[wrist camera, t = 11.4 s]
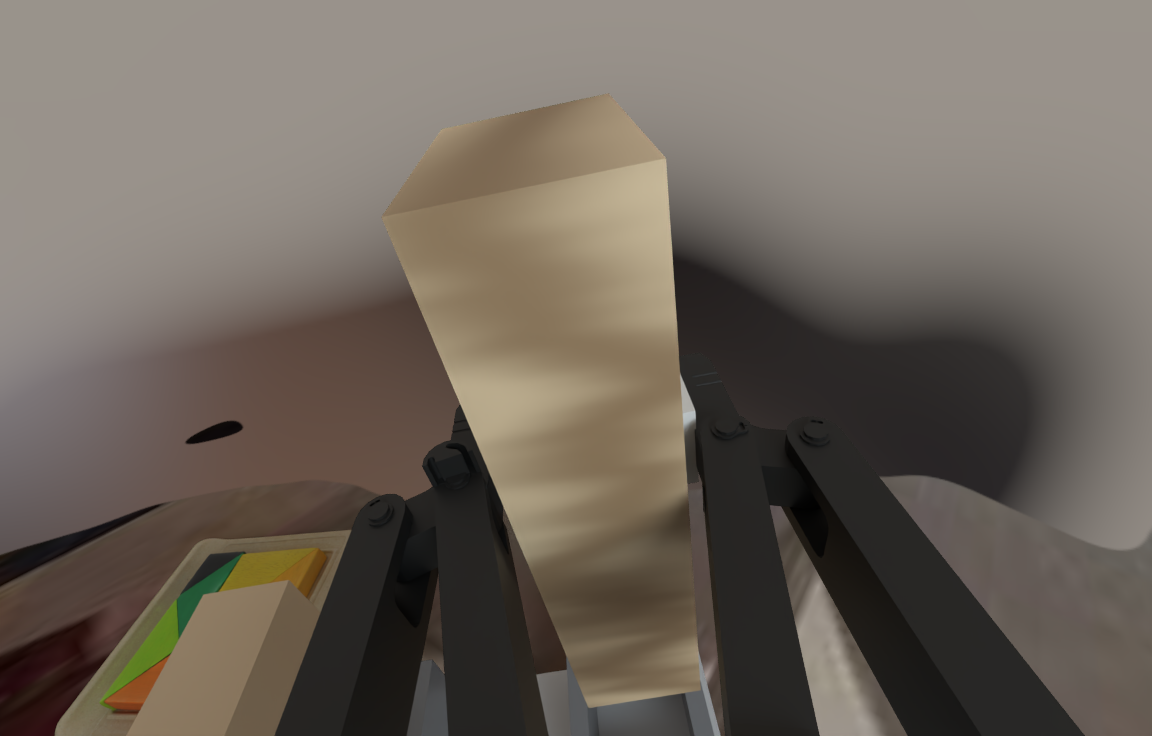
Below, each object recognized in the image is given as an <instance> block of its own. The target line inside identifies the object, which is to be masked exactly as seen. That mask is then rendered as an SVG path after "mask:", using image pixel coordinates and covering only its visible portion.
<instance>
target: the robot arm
mask: <svg viewBox="0 0 1152 736" xmlns="http://www.w3.org/2000/svg"><path fill="white" fill-rule="evenodd" d="M679 365H680V381H681V396H682V411H683V427H684V442H685V457H686V472H687V484H690V483H695V482H699V479H698V472H699V475H700V478H701V480H702V487H703V512H704V513H705V524H706V534H707V545H708V556H709V567H710V577H711V588H712V599H713V609H714V620H715V631H716V642H717V652H718V663H719V674H720V684H721V695H722V706H723V717H724V727H725V736H820V735H819V731H818V726H817V722H816V717H815V713H814V708H813V703H812V699H811V694H810V690H809V685H808V680H807V676H806V671H805V667H804V662H803V657H802V653H801V648H800V644H799V639H798V634H797V630H796V625H795V621H794V616H793V611H792V607H791V602H790V597H789V593H788V588H787V584H786V579H785V574H784V570H783V565H782V561H781V556H780V551H779V547H778V542H777V538H776V533H775V528H774V524H773V519H772V515H771V510H770V505H774V506H781V507H782V509H783V510H784V512H785V514H786V516H787V518H788V520H789V521H790V523H791V525H792V527H793V529H794V530H795V532H796V534H797V536H798V538H799V539H800V541H801V543H802V545H803V547H804V549H805V550H806V552H807V554H808V556H809V558H810V559H811V561H812V563H813V565H814V567H815V568H816V570H817V572H818V574H819V576H820V578H821V579H822V581H823V583H824V585H825V587H826V588H827V590H828V592H829V594H830V596H831V598H832V599H833V601H834V603H835V605H836V607H837V608H838V610H839V612H840V614H841V616H842V617H843V619H844V621H845V623H846V625H847V627H848V628H849V630H850V632H851V634H852V636H853V637H854V639H855V641H856V643H857V645H858V646H859V648H860V650H861V652H862V654H863V656H864V657H865V659H866V661H867V663H868V665H869V666H870V668H871V670H872V672H873V674H874V675H875V677H876V679H877V681H878V683H879V685H880V686H881V688H882V690H883V692H884V694H885V695H886V697H887V699H888V701H889V703H890V704H891V706H892V708H893V710H894V712H895V714H896V715H897V717H898V719H899V721H900V723H901V724H902V726H903V728H904V730H905V732H906V733H907V735H908V736H1085V735H1084V734H1083V733H1082V732H1081V730H1080V729H1079V728H1078V727H1077V725H1076V724H1075V723H1074V722H1073V720H1072V719H1071V718H1070V717H1069V715H1068V714H1067V713H1066V712H1065V710H1064V709H1063V708H1062V706H1061V705H1060V704H1059V703H1058V701H1057V700H1056V699H1055V698H1054V696H1053V695H1052V694H1051V693H1050V691H1049V690H1048V689H1047V688H1046V686H1045V685H1044V684H1043V683H1042V681H1041V680H1040V679H1039V678H1038V676H1037V675H1036V674H1035V673H1034V671H1033V670H1032V669H1031V667H1030V666H1029V665H1028V664H1027V662H1026V661H1025V660H1024V659H1023V657H1022V656H1021V655H1020V654H1019V652H1018V651H1017V650H1016V649H1015V647H1014V646H1013V645H1012V644H1011V642H1010V641H1009V640H1008V639H1007V637H1006V636H1005V635H1004V634H1003V632H1002V631H1001V630H1000V628H999V627H998V626H997V625H996V623H995V622H994V621H993V620H992V618H991V617H990V616H989V615H988V613H987V612H986V611H985V610H984V608H983V607H982V606H981V605H980V603H979V602H978V601H977V600H976V598H975V597H974V596H973V595H972V593H971V592H970V591H969V589H968V588H967V587H966V586H965V584H964V583H963V582H962V581H961V579H960V578H959V577H958V576H957V574H956V573H955V572H954V571H953V569H952V568H951V567H950V566H949V564H948V563H947V562H946V561H945V559H944V558H943V557H942V555H941V554H940V553H939V552H938V550H937V549H936V548H935V547H934V545H933V544H932V543H931V542H930V540H929V539H928V538H927V537H926V535H925V534H924V533H923V532H922V530H921V529H920V528H919V527H918V525H917V524H916V523H915V522H914V520H913V519H912V518H911V516H910V515H909V514H908V513H907V511H906V510H905V509H904V508H903V506H902V505H901V504H900V503H899V501H898V500H897V499H896V498H895V496H894V495H893V494H892V493H891V491H890V490H889V489H888V488H887V486H886V485H885V484H884V483H883V481H882V480H881V479H880V477H879V476H878V475H877V474H876V472H875V471H874V470H873V469H872V468H871V466H870V465H869V464H868V462H867V461H866V460H865V459H864V457H863V456H862V455H861V454H860V452H859V451H858V450H857V449H856V447H855V446H854V445H853V444H852V442H851V441H850V440H849V439H848V437H847V436H846V435H845V433H844V432H843V431H842V430H841V429H840V428H839V427H838V426H837V425H836V424H834V423H833V422H831V421H828V420H826V419H823V418H818V417H802V418H799V419H796V420H794V421H793V422H792V423H790V424H789V425H788V428H787V430H774V429H765V428H759V427H756V426H753V425H751V424H750V422H749V421H747V420H746V419H745V418H744V417H742V416H739V414H738V413H737V411H736V409H735V407H734V405H733V403H732V401H731V399H730V397H729V395H728V393H727V391H726V389H725V387H724V385H723V383H722V382H721V380H720V378H719V376H718V374H717V372H716V370H715V368H714V366H713V364H712V362H711V360H709V359H708V358H706V357H705V356H704V355H702V354H701V353H695V354H690V355H684V356H679ZM452 432H453V434H452V437H451V440H450V441H446V442H443V443H441V444H439V445H437V446H435V447H434V448H433V449H432V450H431V451H429V453H428V454H427V455H426V457H425V458H424V461H423V465H422V467H423V469H424V471H425V472H426V475H427V476H428V478H429V480H430V482H431V484H432V486H433V487H431V488H430V489H429V490H427V491H426V492H423V493H421V494H419V495H417V496H415V497H413V498H410V499H408V500H406V501H404V500H403V498H402V497H401V496H398V495H396V494H385V495H382V496H379V497H377V498H375V499H373V500H371V501H370V502H368V503H367V504H366V505H365V506H364V507H363V508H362V509H361V510H360V512H359V514H358V515H357V517H356V519H355V522H354V525H353V527H352V530H351V533H350V535H349V538H348V541H347V543H346V546H345V549H344V551H343V554H342V557H341V559H340V562H339V565H338V567H337V570H336V573H335V575H334V578H333V581H332V583H331V586H330V589H329V591H328V594H327V597H326V599H325V602H324V605H323V607H322V610H321V613H320V615H319V618H318V621H317V623H316V626H315V629H314V631H313V634H312V637H311V639H310V642H309V645H308V647H307V650H306V653H305V655H304V658H303V661H302V663H301V666H300V669H299V671H298V674H297V677H296V679H295V682H294V685H293V687H292V690H291V693H290V695H289V698H288V701H287V703H286V706H285V708H284V711H283V714H282V716H281V719H280V722H279V724H278V727H277V730H276V732H275V735H274V736H407V731H408V726H409V721H410V716H411V711H412V706H413V701H414V696H415V691H416V685H417V680H418V675H419V670H420V665H421V660H422V655H423V650H424V645H425V639H426V634H427V629H428V624H429V619H430V614H431V609H432V604H433V599H434V594H435V588H436V583H437V578H438V573H439V589H440V605H441V622H442V638H443V655H444V671H445V688H446V704H447V721H448V736H549V735H548V730H547V725H546V720H545V715H544V710H543V705H542V700H541V695H540V691H539V686H538V681H537V676H536V671H535V666H534V661H533V656H532V651H531V646H530V641H529V636H528V631H527V626H526V622H525V617H524V612H523V607H522V602H521V597H520V592H519V587H518V582H517V577H516V572H515V567H514V562H513V557H512V552H511V548H510V543H509V538H508V533H507V529H506V526H505V524H504V522H503V504H502V502H501V499H500V497H499V495H498V492H497V490H496V487H495V485H494V483H493V480H492V478H491V476H490V473H489V471H488V468H487V466H486V464H485V461H484V459H483V457H482V454H481V452H480V449H479V447H478V445H477V442H476V440H475V438H474V435H473V433H472V431H471V428H470V426H469V423H468V421H467V419H466V416H465V414H464V412H463V409H462V407H461V404H460V405H459V407H458V408H457V410H456V414H455V419H454V425H453V431H452Z"/></svg>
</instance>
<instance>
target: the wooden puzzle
mask: <svg viewBox="0 0 1152 736" xmlns="http://www.w3.org/2000/svg"><path fill="white" fill-rule="evenodd" d="M350 533H351V530H342V531H331V532H319V533H307V534H295V535H283V536H270V537H257V538H244V539H230V540H229V539H218V538H210V539H205V540H202V541H200V542H199V543H197V544H196V545H195V546H194V547H193V548H192V550H191V551H190V552H189V553H188V555H187V556H186V557H185V559H184V560H183V561H182V562H181V564H180V565H179V566H178V568H177V569H176V570H175V571H174V573H173V574H172V575H171V577H170V578H169V579H168V580H167V582H166V583H165V584H164V586H163V587H162V588H161V589H160V591H159V592H158V593H157V595H156V596H155V597H154V598H153V600H152V601H151V602H150V603H149V605H148V606H147V607H146V609H145V610H144V611H143V612H142V614H141V615H140V616H139V618H138V619H137V620H136V622H135V623H134V624H133V625H132V627H131V628H130V629H129V631H128V632H127V633H126V635H125V636H124V637H123V638H122V640H121V641H120V642H119V644H118V645H117V646H116V648H115V649H114V650H113V651H112V653H111V654H110V655H109V657H108V658H107V659H106V660H105V662H104V663H103V664H102V666H101V667H100V668H99V670H98V671H97V672H96V674H95V675H94V676H93V678H92V679H91V680H90V681H89V683H88V684H87V685H86V687H85V688H84V689H83V691H82V692H81V693H80V695H79V696H78V697H77V698H76V700H75V701H74V702H73V704H72V705H71V706H70V707H69V709H68V710H67V711H66V713H65V714H64V715H63V717H62V718H61V719H60V721H59V722H58V724H57V727H56V730H55V736H126V735H127V733H128V731H129V730H130V728H131V726H132V724H133V722H134V721H135V719H136V717H137V715H138V713H139V711H140V710H141V708H142V706H143V704H144V702H145V700H146V699H147V697H148V695H149V693H150V691H151V690H152V688H153V686H154V684H155V682H156V680H157V679H158V677H159V675H160V673H161V671H162V669H163V668H164V666H165V664H166V662H167V660H168V659H169V657H170V655H171V653H172V651H173V649H174V648H175V646H176V644H177V642H178V640H179V638H180V637H181V635H182V633H183V631H184V629H185V627H186V626H187V624H188V622H189V620H190V618H191V617H192V615H193V613H194V611H195V609H196V607H197V606H198V604H199V602H200V600H201V598H202V596H203V595H204V594H210V593H216V592H221V591H227V590H233V589H239V588H245V587H250V586H256V585H262V584H268V583H274V582H280V581H285V580H290V582H291V583H292V584H293V585H294V586H295V587H296V588H297V589H298V590H299V591H300V592H301V593H302V594H303V595H304V596H305V597H306V598H307V599H308V600H309V601H310V602H311V603H312V604H313V605H314V606H315V608H316V609H317V610H318V611H319V612H320V613H321V610H322V607H323V605H324V602H325V599H326V597H327V594H328V591H329V589H330V586H331V583H332V581H333V578H334V575H335V573H336V570H337V567H338V565H339V562H340V559H341V557H342V554H343V551H344V549H345V546H346V543H347V541H348V538H349V535H350Z"/></svg>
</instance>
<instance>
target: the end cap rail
mask: <svg viewBox="0 0 1152 736" xmlns="http://www.w3.org/2000/svg"><path fill="white" fill-rule="evenodd" d="M319 615H320V612H319V611H318V610H317V609H316V608H315V606H314V605H313V604H312V603H311V602H310V601H309V600H308V599H307V598H306V597H305V596H304V595H303V594H302V593H301V592H300V591H299V590H298V589H297V588H296V587H295V586H294V585H293V584H292V583H291V582H290V580H285V581H280V582H274V583H268V584H262V585H256V586H250V587H245V588H239V589H233V590H227V591H221V592H216V593H210V594H204V595H203V596H202V598H201V600H200V602H199V604H198V606H197V607H196V609H195V611H194V613H193V615H192V617H191V618H190V620H189V622H188V624H187V626H186V627H185V629H184V631H183V633H182V635H181V637H180V638H179V640H178V642H177V644H176V646H175V648H174V649H173V651H172V653H171V655H170V657H169V659H168V660H167V662H166V664H165V666H164V668H163V669H162V671H161V673H160V675H159V677H158V679H157V680H156V682H155V684H154V686H153V688H152V690H151V691H150V693H149V695H148V697H147V699H146V700H145V702H144V704H143V706H142V708H141V710H140V711H139V713H138V715H137V717H136V719H135V721H134V722H133V724H132V726H131V728H130V730H129V731H128V733H127V735H126V736H274V735H275V732H276V730H277V727H278V724H279V722H280V719H281V716H282V714H283V711H284V708H285V706H286V703H287V701H288V698H289V695H290V693H291V690H292V687H293V685H294V682H295V679H296V677H297V674H298V671H299V669H300V666H301V663H302V661H303V658H304V655H305V653H306V650H307V647H308V645H309V642H310V639H311V637H312V634H313V631H314V629H315V626H316V623H317V621H318V618H319ZM698 656H699V652H698ZM566 661H567V670H562V671H556V672H549V673H543V674H537V675H536V676H537V681H538V686H539V691H540V695H541V700H542V705H543V710H544V715H545V720H546V725H547V730H548V735H549V736H720V732H719V729H718V725H717V721H716V717H715V713H714V709H713V706H712V702H711V698H710V694H709V690H708V686H707V683H706V679H705V675H704V671H703V667H702V664H701V660H700V656H699V671H700V686H701V690H699V691H693V692H687V693H680V694H674V695H668V696H662V697H655V698H649V699H643V700H637V701H630V702H624V703H618V704H612V705H605V706H599V707H593V708H588V706H587V703H586V701H585V698H584V696H583V694H582V691H581V689H580V687H579V684H578V682H577V679H576V677H575V675H574V672H573V670H572V668H571V665H570V663H569V660H568V658H567V656H566ZM407 736H448V721H447V704H446V688H445V675H444V674H443V672H442V671H441V670H440V669H439V667H438V666H437V665H436V663H435V662H434V661H433V660H426V661H421V665H420V670H419V675H418V680H417V685H416V691H415V696H414V701H413V706H412V711H411V716H410V721H409V726H408V731H407Z"/></svg>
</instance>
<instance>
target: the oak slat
mask: <svg viewBox="0 0 1152 736" xmlns="http://www.w3.org/2000/svg"><path fill="white" fill-rule="evenodd" d="M382 220H383V222H384V224H385V226H386V229H387V231H388V234H389V236H390V238H391V241H392V243H393V246H394V248H395V250H396V253H397V255H398V257H399V260H400V262H401V264H402V267H403V269H404V272H405V274H406V276H407V279H408V281H409V283H410V286H411V288H412V291H413V293H414V295H415V298H416V300H417V302H418V305H419V307H420V310H421V312H422V314H423V317H424V319H425V321H426V324H427V326H428V329H429V331H430V333H431V335H432V338H433V340H434V343H435V345H436V347H437V350H438V352H439V354H440V357H441V359H442V362H443V364H444V366H445V369H446V371H447V373H448V376H449V378H450V381H451V383H452V385H453V388H454V390H455V392H456V395H457V397H458V400H459V402H460V404H461V407H462V409H463V412H464V414H465V416H466V419H467V421H468V423H469V426H470V428H471V431H472V433H473V435H474V438H475V440H476V442H477V445H478V447H479V449H480V452H481V454H482V457H483V459H484V461H485V464H486V466H487V468H488V471H489V473H490V476H491V478H492V480H493V483H494V485H495V487H496V490H497V492H498V495H499V497H500V499H501V502H502V504H503V506H504V509H505V511H506V513H507V516H508V518H509V521H510V523H511V525H512V528H513V530H514V532H515V535H516V537H517V540H518V542H519V544H520V547H521V549H522V551H523V554H524V556H525V559H526V561H527V563H528V566H529V568H530V570H531V573H532V575H533V578H534V580H535V582H536V585H537V587H538V589H539V592H540V594H541V596H542V599H543V601H544V604H545V606H546V608H547V611H548V613H549V615H550V618H551V620H552V623H553V625H554V627H555V630H556V632H557V634H558V637H559V639H560V642H561V644H562V646H563V649H564V651H565V653H566V656H567V658H568V660H569V663H570V665H571V668H572V670H573V672H574V675H575V677H576V679H577V682H578V684H579V687H580V689H581V691H582V694H583V696H584V698H585V701H586V703H587V706H588V708H593V707H599V706H605V705H612V704H618V703H624V702H630V701H637V700H643V699H649V698H655V697H662V696H668V695H674V694H680V693H687V692H693V691H699V690H701V686H700V671H699V656H698V640H697V625H696V610H695V595H694V579H693V564H692V549H691V534H690V518H689V503H688V488H687V472H686V457H685V442H684V427H683V411H682V396H681V381H680V365H679V352H678V351H679V350H678V336H677V321H676V304H675V290H674V274H673V258H672V243H671V229H670V214H669V197H668V182H667V167H666V158H665V157H664V156H663V154H662V153H661V152H660V151H659V150H658V149H657V148H656V147H655V145H654V144H653V143H652V142H651V141H650V140H649V139H648V137H647V136H646V135H645V134H644V133H643V132H642V131H641V130H640V129H639V127H638V126H637V125H636V124H635V123H634V122H633V120H632V119H631V118H630V117H629V116H628V115H627V114H626V113H625V111H624V110H623V109H622V108H621V107H620V106H619V105H618V104H617V102H616V101H615V100H614V99H613V98H612V97H611V96H610V95H609V94H604V95H600V96H594V97H590V98H585V99H580V100H576V101H571V102H567V103H562V104H557V105H552V106H548V107H543V108H538V109H534V110H529V111H524V112H519V113H515V114H510V115H506V116H501V117H496V118H491V119H487V120H482V121H477V122H473V123H468V124H464V125H459V126H454V127H449V128H444V129H442V130H441V131H440V133H439V134H438V135H437V137H436V138H435V140H434V141H433V143H432V144H431V146H430V147H429V148H428V150H427V151H426V153H425V155H424V156H423V157H422V159H421V160H420V162H419V163H418V165H417V166H416V168H415V169H414V170H413V172H412V173H411V175H410V176H409V178H408V179H407V181H406V182H405V184H404V185H403V187H402V188H401V189H400V191H399V192H398V194H397V195H396V197H395V198H394V200H393V201H392V202H391V204H390V205H389V207H388V208H387V210H386V211H385V213H384V214H383V216H382Z"/></svg>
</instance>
